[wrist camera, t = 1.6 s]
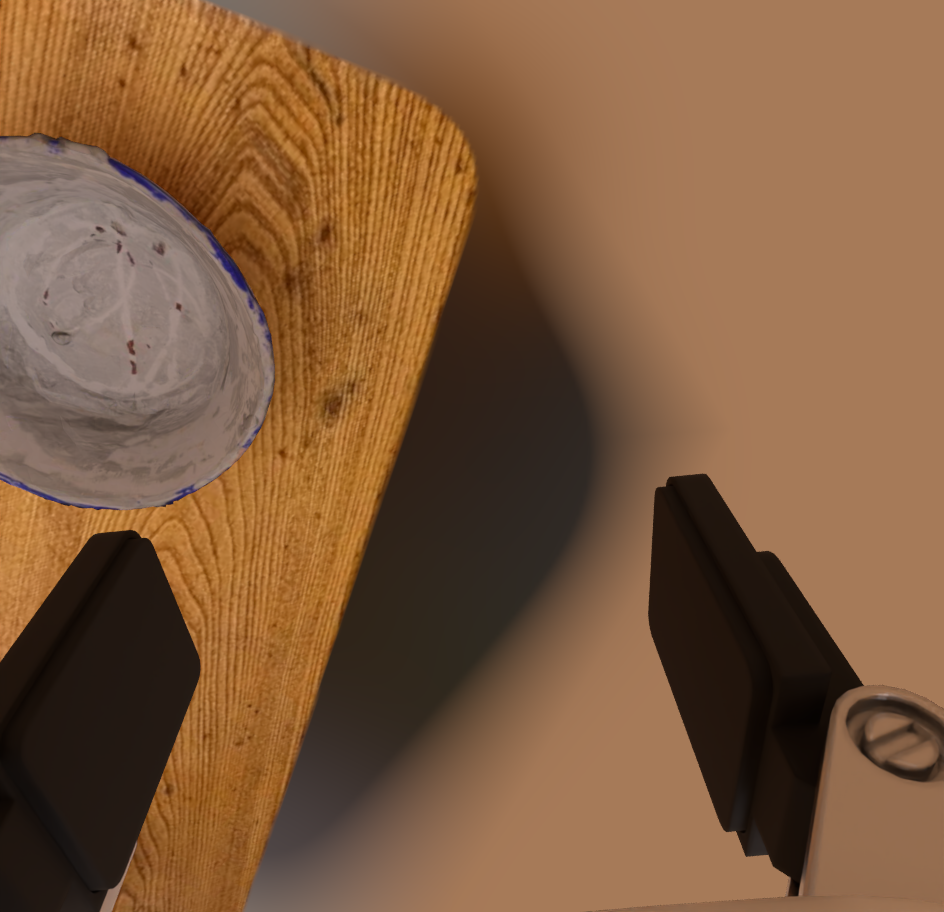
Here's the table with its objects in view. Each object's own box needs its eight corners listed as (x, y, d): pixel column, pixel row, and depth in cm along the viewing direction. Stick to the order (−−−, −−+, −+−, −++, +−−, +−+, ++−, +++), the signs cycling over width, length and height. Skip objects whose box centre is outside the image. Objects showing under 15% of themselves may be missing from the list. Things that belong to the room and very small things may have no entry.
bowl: (-119, 308, 26) (-225, 356, 22) (51, 31, 22) (-40, 25, 18) (174, 502, 31) (134, 570, 27) (359, 305, 27) (345, 351, 23)
